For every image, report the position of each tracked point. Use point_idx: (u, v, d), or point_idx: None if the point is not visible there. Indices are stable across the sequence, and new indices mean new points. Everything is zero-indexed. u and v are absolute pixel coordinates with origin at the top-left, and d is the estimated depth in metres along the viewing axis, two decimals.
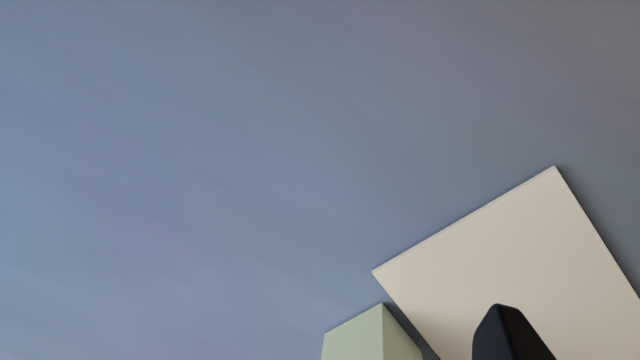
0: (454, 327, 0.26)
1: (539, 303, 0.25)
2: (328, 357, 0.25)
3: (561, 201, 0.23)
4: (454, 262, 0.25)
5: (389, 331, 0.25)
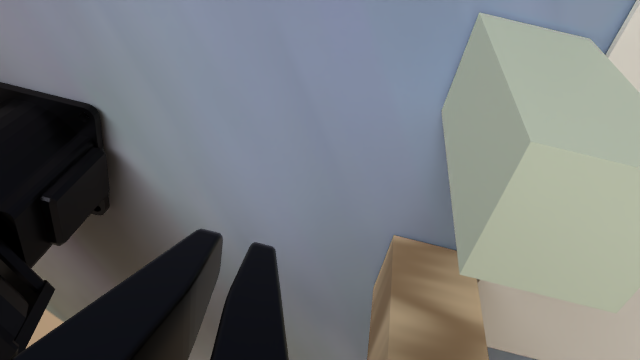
0: None
1: None
2: (504, 37, 0.15)
3: None
4: None
5: None
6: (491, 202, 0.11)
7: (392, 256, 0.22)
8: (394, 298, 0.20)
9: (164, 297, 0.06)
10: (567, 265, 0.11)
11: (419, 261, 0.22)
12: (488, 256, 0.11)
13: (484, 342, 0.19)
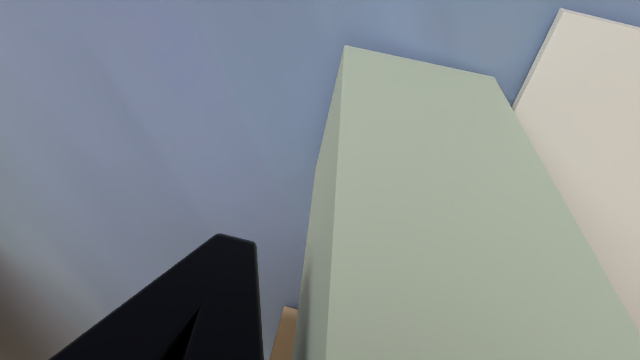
0: None
1: None
2: (366, 87, 0.10)
3: None
4: None
5: None
6: None
7: (276, 336, 0.18)
8: None
9: (187, 303, 0.06)
10: None
11: None
12: None
13: None
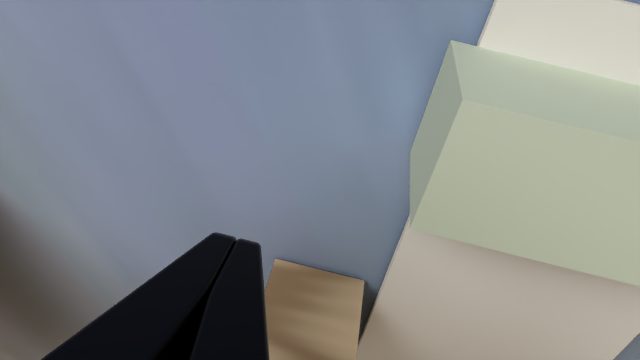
0: None
1: None
2: (556, 112, 0.11)
3: None
4: (616, 71, 0.14)
5: None
6: None
7: (267, 283, 0.20)
8: None
9: (182, 302, 0.06)
10: None
11: (297, 289, 0.19)
12: None
13: None
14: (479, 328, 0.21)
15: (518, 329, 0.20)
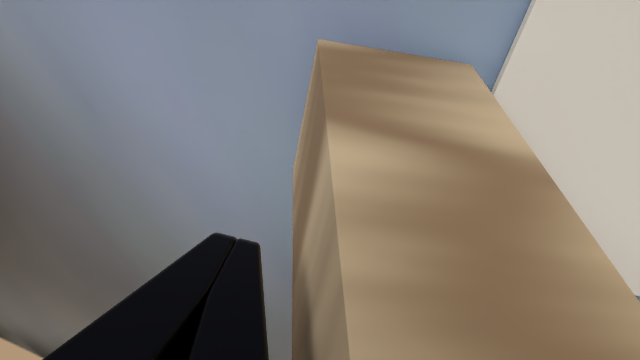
0: None
1: None
2: None
3: None
4: None
5: None
6: None
7: (319, 66, 0.10)
8: (334, 123, 0.08)
9: (183, 302, 0.06)
10: None
11: (376, 71, 0.11)
12: None
13: (554, 187, 0.08)
14: None
15: None
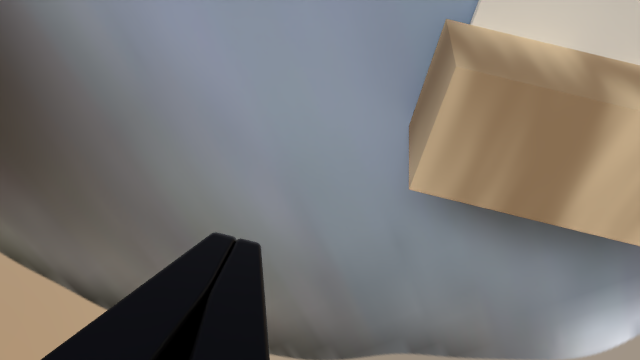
0: None
1: None
2: None
3: None
4: None
5: None
6: None
7: (508, 83, 0.12)
8: (608, 101, 0.12)
9: (182, 302, 0.06)
10: None
11: (501, 60, 0.13)
12: None
13: (602, 57, 0.15)
14: None
15: None
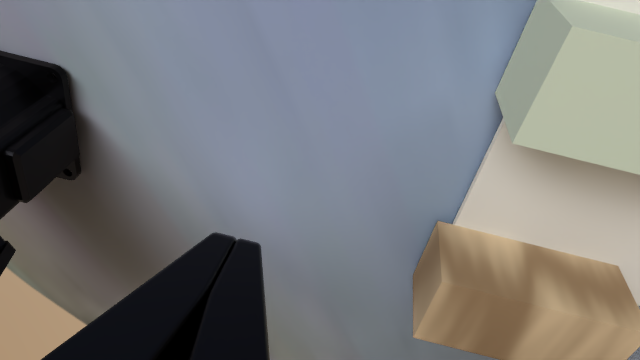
0: None
1: None
2: None
3: None
4: None
5: None
6: None
7: (473, 291, 0.20)
8: (533, 301, 0.20)
9: (182, 302, 0.06)
10: None
11: (470, 267, 0.21)
12: None
13: (539, 247, 0.23)
14: None
15: None
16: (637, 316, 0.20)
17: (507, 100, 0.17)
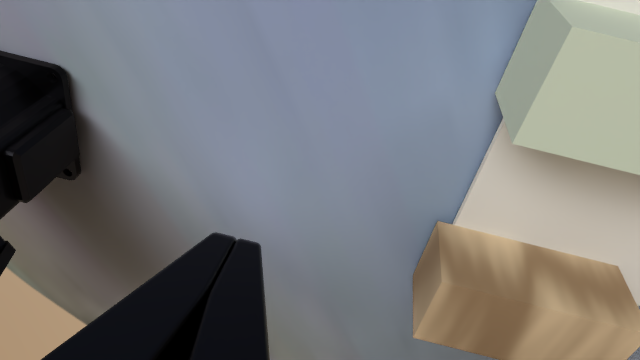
0: None
1: None
2: None
3: None
4: None
5: None
6: None
7: (473, 291, 0.20)
8: (533, 302, 0.20)
9: (182, 302, 0.06)
10: None
11: (470, 268, 0.21)
12: None
13: (539, 247, 0.23)
14: None
15: None
16: (637, 316, 0.20)
17: (507, 100, 0.17)
